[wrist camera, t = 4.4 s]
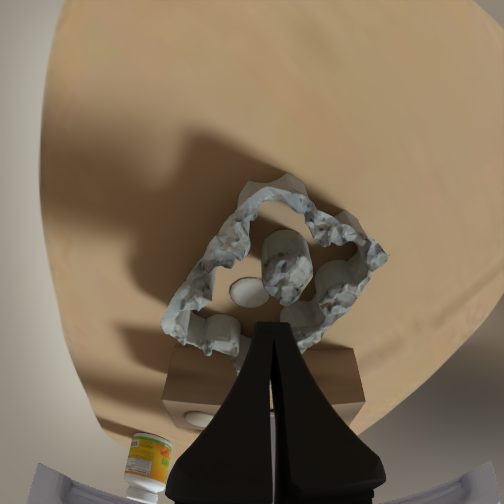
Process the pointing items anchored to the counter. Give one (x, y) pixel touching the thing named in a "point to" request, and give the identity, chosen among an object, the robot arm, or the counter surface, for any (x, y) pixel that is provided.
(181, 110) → the counter surface
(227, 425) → the robot arm
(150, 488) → the supplement bottle
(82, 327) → the counter surface
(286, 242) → the egg carton
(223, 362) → the dotted block
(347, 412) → the dotted block
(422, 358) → the counter surface
